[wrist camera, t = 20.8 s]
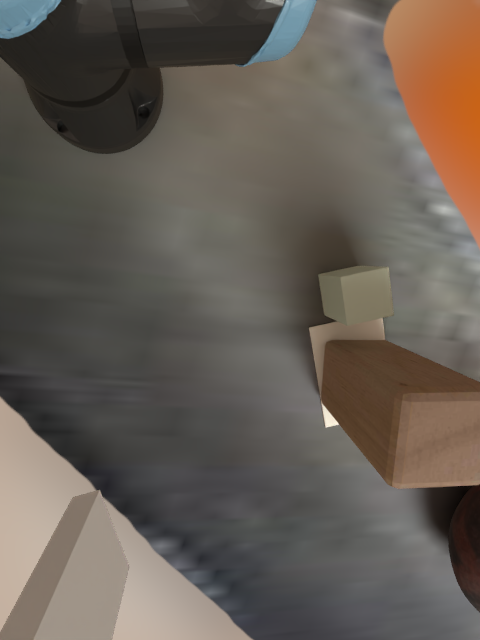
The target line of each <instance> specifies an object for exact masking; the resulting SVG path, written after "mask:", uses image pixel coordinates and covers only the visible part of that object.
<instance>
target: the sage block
mask: <svg viewBox="0 0 480 640" xmlns="http://www.w3.org/2000/svg"><path fill="white" fill-rule="evenodd" d="M318 277H319V284H320V290H321V297H322V303H323V310H324V315H325V316H327V317H329V318H331V319H334V320H336V321H338V322H340V323H342V324H344V325H346V326H349V325H353V324H358V323H362V322H367V321H371V320H376V319H380V318H384V317H389V316H393V315H394V312H393V303H392V294H391V285H390V276H389V267H379V266H355V267H350V268H345V269H340V270H336V271H331V272H326V273H322V274H318Z"/></svg>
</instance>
